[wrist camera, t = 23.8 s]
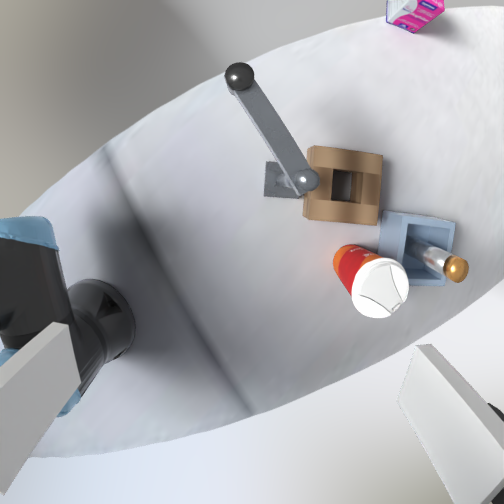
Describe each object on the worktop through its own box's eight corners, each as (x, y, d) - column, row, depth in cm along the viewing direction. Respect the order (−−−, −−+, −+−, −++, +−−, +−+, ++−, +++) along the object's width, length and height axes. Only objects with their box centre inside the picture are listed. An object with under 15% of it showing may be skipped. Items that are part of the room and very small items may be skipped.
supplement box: (385, 23, 38) (413, -6, 27) (386, 0, 36) (411, -30, 25) (414, 35, 38) (445, 10, 27) (413, 12, 37) (442, -14, 25)
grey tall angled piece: (293, 181, 43) (327, 183, 24) (279, 190, 43) (302, 198, 24) (247, 107, 40) (244, 53, 21) (232, 115, 41) (218, 67, 21)
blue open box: (374, 271, 48) (392, 285, 41) (382, 210, 45) (402, 215, 38) (423, 273, 48) (444, 286, 41) (432, 216, 45) (455, 222, 39)
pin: (401, 234, 45) (453, 258, 31) (416, 236, 45) (470, 259, 31) (398, 253, 46) (448, 282, 31) (413, 254, 46) (465, 282, 31)
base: (263, 195, 45) (264, 196, 44) (265, 162, 44) (266, 161, 43) (297, 198, 45) (298, 198, 44) (299, 164, 44) (301, 164, 43)
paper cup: (379, 261, 47) (422, 290, 34) (346, 293, 48) (377, 333, 35) (351, 226, 46) (390, 246, 32) (315, 260, 47) (341, 292, 33)
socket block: (302, 215, 46) (308, 219, 41) (307, 149, 43) (314, 145, 38) (364, 220, 46) (376, 225, 41) (369, 157, 43) (382, 155, 39)
